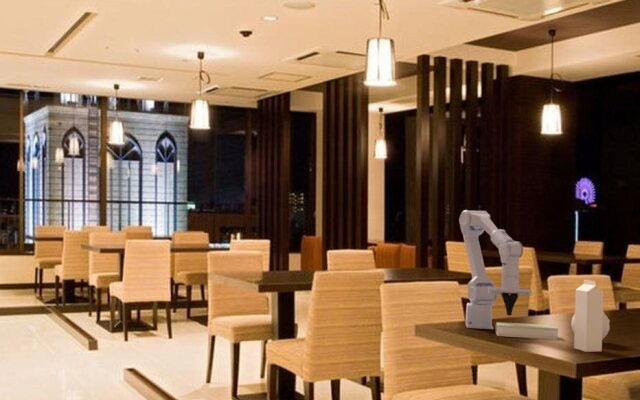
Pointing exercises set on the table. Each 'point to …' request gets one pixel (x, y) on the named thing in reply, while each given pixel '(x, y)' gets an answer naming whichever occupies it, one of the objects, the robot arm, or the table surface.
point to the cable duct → (526, 333)
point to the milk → (588, 317)
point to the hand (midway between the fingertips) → (508, 315)
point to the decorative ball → (604, 326)
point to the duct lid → (526, 326)
